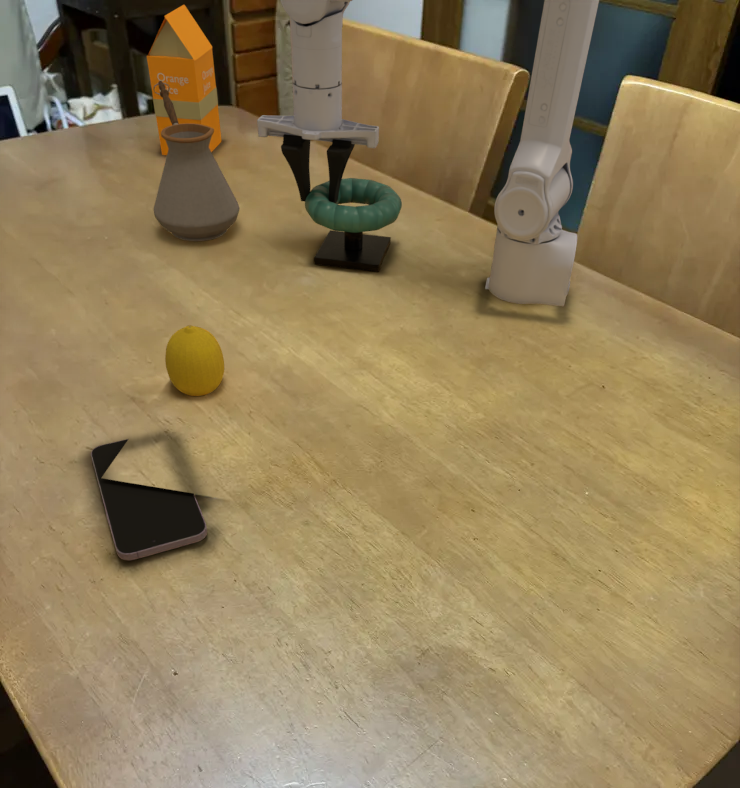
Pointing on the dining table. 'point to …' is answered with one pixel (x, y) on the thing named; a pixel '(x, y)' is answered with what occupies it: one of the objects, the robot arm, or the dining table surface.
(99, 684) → the dining table surface
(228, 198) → the coffee pot
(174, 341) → the lemon
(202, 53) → the orange juice
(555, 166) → the robot arm
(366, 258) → the peg stand
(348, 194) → the hoop
